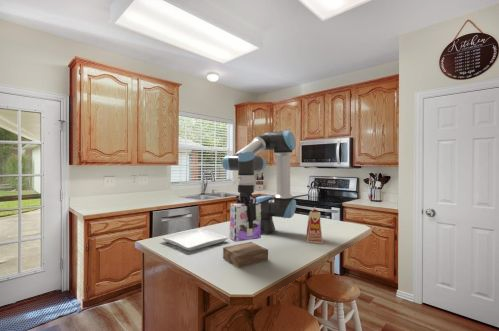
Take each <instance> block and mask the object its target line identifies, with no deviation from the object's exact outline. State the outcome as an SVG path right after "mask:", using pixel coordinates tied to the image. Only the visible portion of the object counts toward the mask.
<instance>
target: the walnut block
mask: <svg viewBox="0 0 499 331" xmlns="http://www.w3.org/2000/svg"><path fill="white" fill-rule="evenodd" d="M222 249H223V251H222V254H223V255H222V258H223V259H224V260H226V261H227V262H229V263H230V264H232V265H234V267H237V268H238V269H239V268H244V267H248V266H252V265H255V264H259V263H262V262H267V261H269V249H268V248H266V247H263V246H261V245H259V244H256V243H254V242H252V241H249V242H243V243H239V244H233V245H230V246H223V248H222Z"/></svg>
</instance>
